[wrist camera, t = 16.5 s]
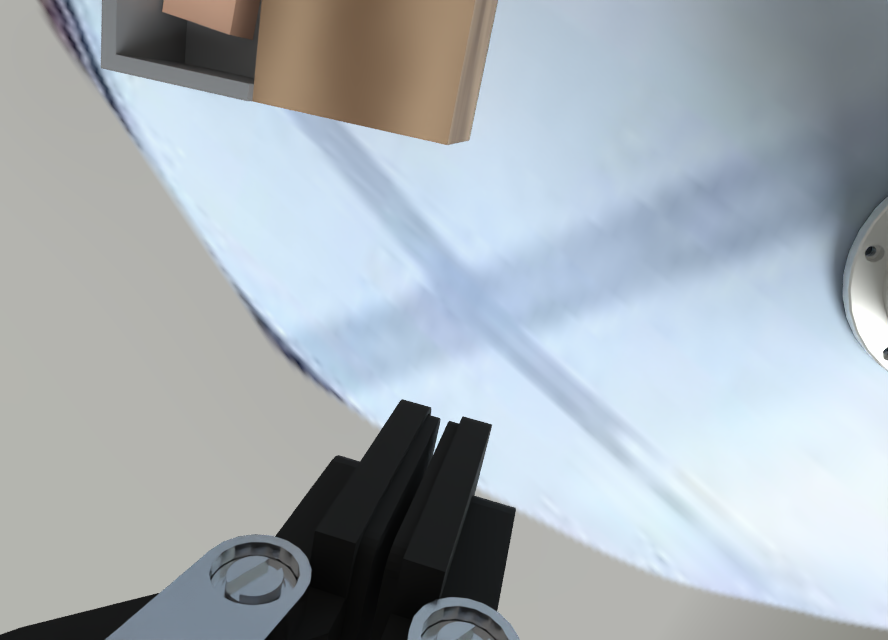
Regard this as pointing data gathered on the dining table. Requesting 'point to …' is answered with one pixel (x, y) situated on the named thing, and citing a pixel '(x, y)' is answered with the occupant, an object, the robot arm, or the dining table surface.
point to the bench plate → (377, 62)
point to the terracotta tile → (218, 14)
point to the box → (176, 49)
